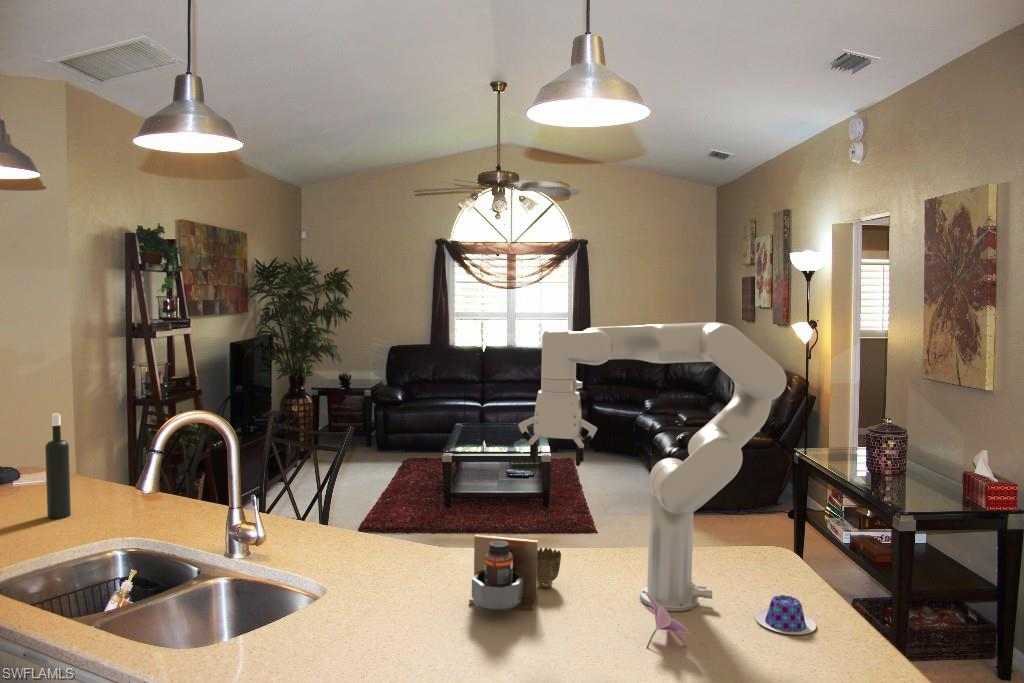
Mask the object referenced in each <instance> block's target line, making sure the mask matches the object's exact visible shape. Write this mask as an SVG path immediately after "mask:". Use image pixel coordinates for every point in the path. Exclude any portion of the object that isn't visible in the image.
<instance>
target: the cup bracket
mask: <svg viewBox="0 0 1024 683" xmlns="http://www.w3.org/2000/svg"><path fill="white" fill-rule="evenodd" d="M473 538H474V540H473V542H474V543H473V545H474V549H473V551H474V553H473V554H474V557H473V576H472V577H471V596H470V597H469V598H468V605H469V606H476V607H478V608H479V609H483V610H486V611H492V612H493V611H494V612H503V611H509V610H510V611H511V610H512V611H520V612H529V613H533V612H534V609H535V608H536V606H537V603H538V600H539V595H538V586H537V568H538V550H539V540H537V539H527V538H515V537H509V536H508V537H507V536H505V537H504V536H496V535H486V534H485V535H484V534H475V535H474V537H473ZM492 541H506V542H508V547H509V549H508V551H509V552H510V553H511V554H512V556H513V581H512V584H508V585H504V586H495V585H486V584H484V575H485V555H486V553H487V552H489V550H490V549H489V547H490V542H492Z"/></svg>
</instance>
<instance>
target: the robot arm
mask: <svg viewBox="0 0 1024 683" xmlns="http://www.w3.org/2000/svg"><path fill="white" fill-rule="evenodd" d="M609 360H637V361H643V362H648V363H652V364H676V363H707V362H708V363H709V362H711V363H713V364H714V365H716V367H718V368H719V369H720V370H721V371H722V372H723V373H725V375H727V376H728V377H729V378H731V380H732V381H733V383H734V390H733V395H732V397H731V398H730V401H729V402H728V403H727V405H725V406H724V408H723V409H722V410H721V411H720V412H719V413H718V414H716V415H715V416H714V417H713V418H712V419H711V420H710V421H708V423H706V424H705V425H704V426H702V427H701V428H700V429H699V430H698V431H697V432H696V433H694V434H693V435H692V437H691V438H690V439H689V442H688V444H687V451H688V455H689V456H688V457H687V458H685V459H684V460H681V459H679V458H676V457H675V458H674V457H666V458H663V459H661V460H659V461H658V462H656V463H655V465H654V466H653V467H652V469H651V471H650V474H649V479H648V499H649V500H648V501H649V503H648V504H649V521H648V522H649V524H648V525H649V526H648V548H647V549H648V552H647V554H648V555H647V576H646V577H647V579H646V580H647V582H646V583H647V584H646V586H644V587H643V588H641V589H640V591H639V599H640V601H642V603H643V604H645V605H646V606H647V607H650V608H653V606H652V603H651V602H650V600H649V598H648V597H647V595H646V594H645V592H644V591H646V592H647V593H648V594H649V595H650V596H651V597H652V598H653V599H655V601H656V602H657V603H658V605H659V606H660V607H663V608H665V610H666V611H667V612H685V611H689V610H692V609H694V608H696V607H697V605H698V602H699V600H698V599H699V598H703V599H711V600H712V599H713V589H710V588H707V585H702V584H701V585H697V584H696V583H694V582H693V579H694V578H693V577H692V574H693V573H692V571H693V568H692V567H693V544H694V542H693V541H694V512H696V511H697V510H698V509H700V508H702V506H704V505H705V504H706V503H707V502H709V501H710V500H711V499H712V498H713V497H714V496H716V494H717V493H718V492H720V491H721V490H722V489H723V488H724V487H726V485H727V484H729V483H730V482H731V481H732V480H733V479H734V478H735V477H736V475H737V474H738V473H739V471H740V469H741V467H742V464H743V458H744V457H743V451H742V448H743V447H744V446H745V445H746V444H747V443H748V442H750V440H751V439H752V438H753V437H754V436H755V435H756V434H757V433H758V432H759V431H760V430H761V428H762V427H763V426H764V425H765V423H766V421H767V420H768V418H769V414H770V411H771V407H772V401H773V400H776V399H777V398H779V397H780V396H781V395H782V394H783V392H784V391H785V389H786V386H787V375H786V373H785V370H784V368H783V367H782V366H781V365H780V364H779V363H778V362H777V361H776V360H775V359H773V358H772V357H771V356H770V355H768V354H767V352H765V351H764V350H763V349H761V348H760V347H759V346H758V345H756V343H754V342H753V341H751V339H750V338H748V336H746V335H745V334H744V333H743V332H742V331H740V330H739V329H738V328H736V327H735V326H734V325H731V324H726V323H722V322H718V321H717V322H715V321H711V322H710V321H709V322H705V321H704V322H686V323H683V322H681V323H661V324H660V323H657V324H644V325H643V324H642V325H629V326H628V325H626V326H625V325H623V326H596V327H593V326H592V327H588V328H586V329H583V330H582V331H574V330H571V329H566V328H565V329H564V328H563V329H562V328H556V329H555V328H551V329H546V330H545V331H544V332H543V333H542V338H541V370H540V371H541V372H540V373H541V376H540V377H541V378H540V379H541V380H540V384H541V386H540V390H538V392H537V396H536V402H535V406H534V407H535V408H534V416H532V417H529V418H528V419H525V420H523V421H521V422H519V423H518V428H519V431H520V432H521V434H522V438H524V439H525V440H526V441H527V442H528V445H529V447H530V448H529V450H530V451H529V459H531V462H532V464H536V463H537V462H538V461H539V443H538V440H539V439H540V438H548V439H566V440H573V441H574V442H575V444H576V445H577V447H576V449H575V466H576V467H580V465H581V464H582V463H583V462H584V460H585V458H584V457H585V456H584V455H585V447H586V445H588V444H589V443H590V442H591V441H592V440H593V438H594V436H595V435H596V433H597V431H598V427H597V426H595V425H593V424H591V423H590V422H588V421H587V420H584V419H583V418H582V405H581V404H582V403H581V395H580V392H579V391H576V390H577V389H582V388H583V381H579V380H577V377H576V376H577V363H578V364H582V365H583V364H584V365H585V364H586V365H590V366H599V365H602V364H604V363H606V362H608V361H609ZM532 424H533V433H534V434H533V435H532V433H531V432H529V430H528V428H527V427H528V426H530V425H532ZM582 428H583V429H585V430H587V431H588V433H587V435H586V436H585V437H584V438H583V436H581V433H582ZM643 590H644V591H643Z"/></svg>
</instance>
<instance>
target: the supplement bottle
mask: <svg viewBox="0 0 1024 683" xmlns="http://www.w3.org/2000/svg"><path fill="white" fill-rule="evenodd" d="M489 549H490V550H489V552H487V553H486V555H485V575H484V584H486V585H495V586H504V585H508V584H512V581H513V556H512V554H511V553H510V552H509V551H508V549H509V547H508V542H506V541H492V542H490V547H489Z"/></svg>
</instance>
